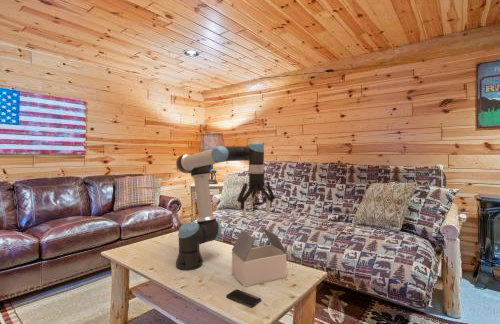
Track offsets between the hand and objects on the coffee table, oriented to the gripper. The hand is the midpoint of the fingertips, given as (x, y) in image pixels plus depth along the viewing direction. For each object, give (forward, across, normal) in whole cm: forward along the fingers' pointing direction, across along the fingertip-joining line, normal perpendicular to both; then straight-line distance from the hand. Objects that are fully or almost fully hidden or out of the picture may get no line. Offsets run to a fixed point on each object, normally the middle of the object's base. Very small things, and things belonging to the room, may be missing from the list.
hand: (256, 214), depth 145 cm
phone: (+34, -13, -15) cm, 40 cm away
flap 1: (+16, -6, +3) cm, 17 cm away
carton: (+34, +3, +3) cm, 34 cm away
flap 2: (+16, +11, +3) cm, 20 cm away
